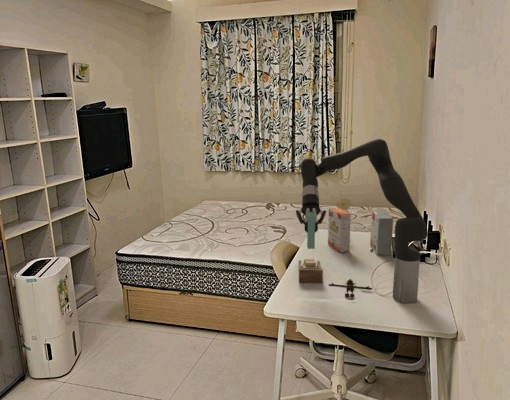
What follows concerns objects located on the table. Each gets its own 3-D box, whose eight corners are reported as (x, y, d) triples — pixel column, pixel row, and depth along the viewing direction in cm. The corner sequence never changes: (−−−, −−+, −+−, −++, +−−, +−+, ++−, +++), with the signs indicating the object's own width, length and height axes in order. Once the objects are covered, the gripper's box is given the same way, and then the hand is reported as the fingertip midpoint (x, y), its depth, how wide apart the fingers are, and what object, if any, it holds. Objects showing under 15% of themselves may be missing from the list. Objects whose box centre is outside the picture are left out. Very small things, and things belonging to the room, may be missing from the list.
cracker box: (327, 244, 236) (328, 207, 231) (337, 243, 237) (338, 207, 233) (339, 253, 223) (340, 214, 218) (349, 251, 224) (351, 213, 220)
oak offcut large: (316, 273, 195) (316, 268, 194) (303, 272, 195) (303, 267, 194) (315, 267, 201) (315, 262, 201) (302, 267, 202) (303, 262, 201)
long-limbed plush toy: (326, 291, 172) (329, 274, 185) (326, 301, 173) (329, 283, 187) (373, 295, 168) (372, 277, 181) (372, 305, 169) (371, 286, 183)
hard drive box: (369, 245, 234) (371, 210, 229) (383, 245, 233) (385, 210, 229) (376, 255, 218) (378, 218, 214) (391, 255, 218) (394, 218, 214)
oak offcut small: (315, 266, 195) (315, 262, 195) (305, 267, 195) (305, 262, 195) (313, 262, 200) (313, 258, 200) (304, 262, 200) (304, 258, 200)
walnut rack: (322, 285, 184) (322, 270, 182) (299, 284, 185) (299, 269, 183) (319, 267, 203) (320, 253, 202) (298, 267, 204) (298, 253, 203)
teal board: (314, 248, 184) (315, 215, 180) (307, 248, 184) (308, 215, 181) (313, 244, 190) (314, 211, 186) (307, 244, 190) (307, 211, 187)
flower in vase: (324, 238, 245) (325, 196, 240) (337, 234, 252) (338, 193, 247) (342, 244, 235) (344, 200, 230) (355, 240, 243) (357, 197, 237)
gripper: (325, 202, 195) (327, 235, 186) (294, 201, 196) (294, 235, 187) (326, 193, 188) (328, 227, 179) (294, 193, 190) (294, 227, 181)
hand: (311, 231), depth 183 cm, fingers closed on teal board, 3 cm apart
